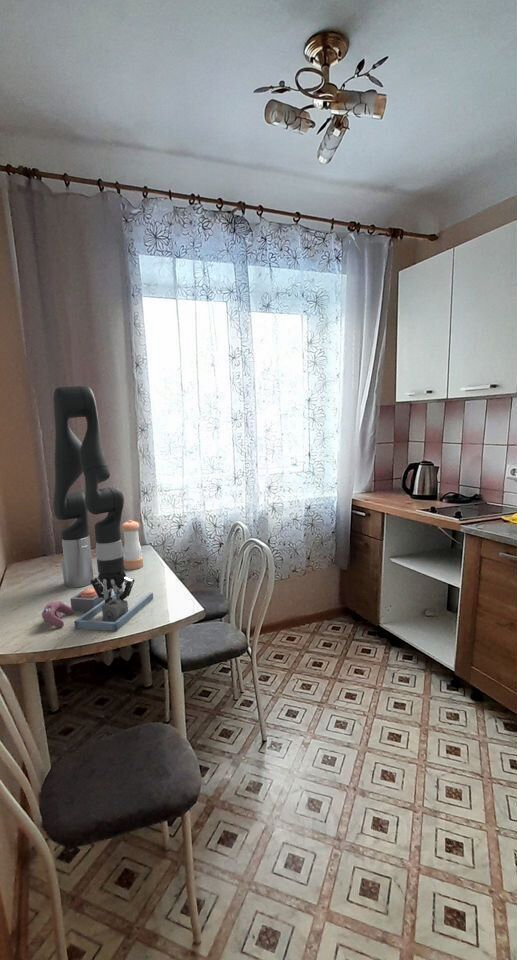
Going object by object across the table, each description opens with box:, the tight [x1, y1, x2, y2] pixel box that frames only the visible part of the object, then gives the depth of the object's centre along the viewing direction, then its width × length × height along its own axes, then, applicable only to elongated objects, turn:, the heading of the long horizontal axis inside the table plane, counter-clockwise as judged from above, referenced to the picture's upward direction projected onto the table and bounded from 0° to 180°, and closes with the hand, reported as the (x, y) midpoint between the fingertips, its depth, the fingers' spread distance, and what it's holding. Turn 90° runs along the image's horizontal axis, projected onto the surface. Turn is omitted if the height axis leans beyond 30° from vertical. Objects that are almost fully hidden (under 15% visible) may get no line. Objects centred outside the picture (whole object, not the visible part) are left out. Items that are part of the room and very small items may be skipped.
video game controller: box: [41, 599, 74, 628], centre depth 126 cm, size 10×5×7 cm, turn 6°
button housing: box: [70, 588, 104, 613], centre depth 135 cm, size 8×8×4 cm
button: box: [80, 587, 97, 598], centre depth 135 cm, size 5×5×3 cm
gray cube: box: [101, 599, 129, 622], centre depth 125 cm, size 5×5×5 cm
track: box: [74, 592, 154, 632], centre depth 130 cm, size 13×22×2 cm, turn 167°
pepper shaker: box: [120, 519, 144, 571], centre depth 171 cm, size 7×7×19 cm
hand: (115, 610), depth 129 cm, fingers open, 2 cm apart
